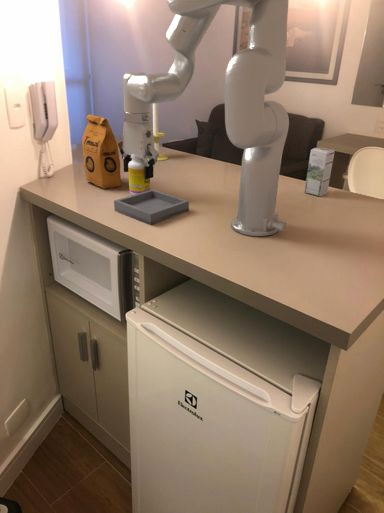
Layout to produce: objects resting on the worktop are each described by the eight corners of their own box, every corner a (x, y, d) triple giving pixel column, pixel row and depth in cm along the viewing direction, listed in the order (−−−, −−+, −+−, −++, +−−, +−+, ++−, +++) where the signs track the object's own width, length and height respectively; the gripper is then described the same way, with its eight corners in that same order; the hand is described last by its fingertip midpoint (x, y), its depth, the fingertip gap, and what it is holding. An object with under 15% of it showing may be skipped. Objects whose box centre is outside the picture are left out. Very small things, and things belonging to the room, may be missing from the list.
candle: (158, 154, 181) (157, 87, 169) (172, 158, 175) (173, 90, 162) (139, 157, 175) (137, 88, 163) (154, 162, 169) (152, 91, 156)
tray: (188, 210, 120) (188, 201, 119) (150, 225, 110) (150, 214, 109) (152, 198, 129) (152, 189, 128) (114, 210, 119) (113, 200, 118)
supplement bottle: (146, 197, 130) (145, 156, 124) (126, 195, 131) (124, 154, 125) (152, 191, 135) (152, 151, 130) (133, 189, 137) (131, 150, 131)
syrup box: (327, 193, 138) (335, 149, 132) (319, 197, 134) (327, 152, 128) (312, 189, 142) (319, 146, 135) (303, 193, 138) (310, 149, 131)
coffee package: (99, 191, 134) (93, 120, 124) (82, 181, 143) (75, 114, 133) (125, 186, 140) (122, 117, 130) (108, 177, 148) (103, 112, 138)
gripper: (166, 120, 120) (166, 178, 128) (127, 112, 130) (129, 166, 138) (147, 123, 115) (148, 183, 123) (108, 115, 125) (111, 171, 133)
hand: (138, 174), depth 131 cm, fingers open, 9 cm apart
